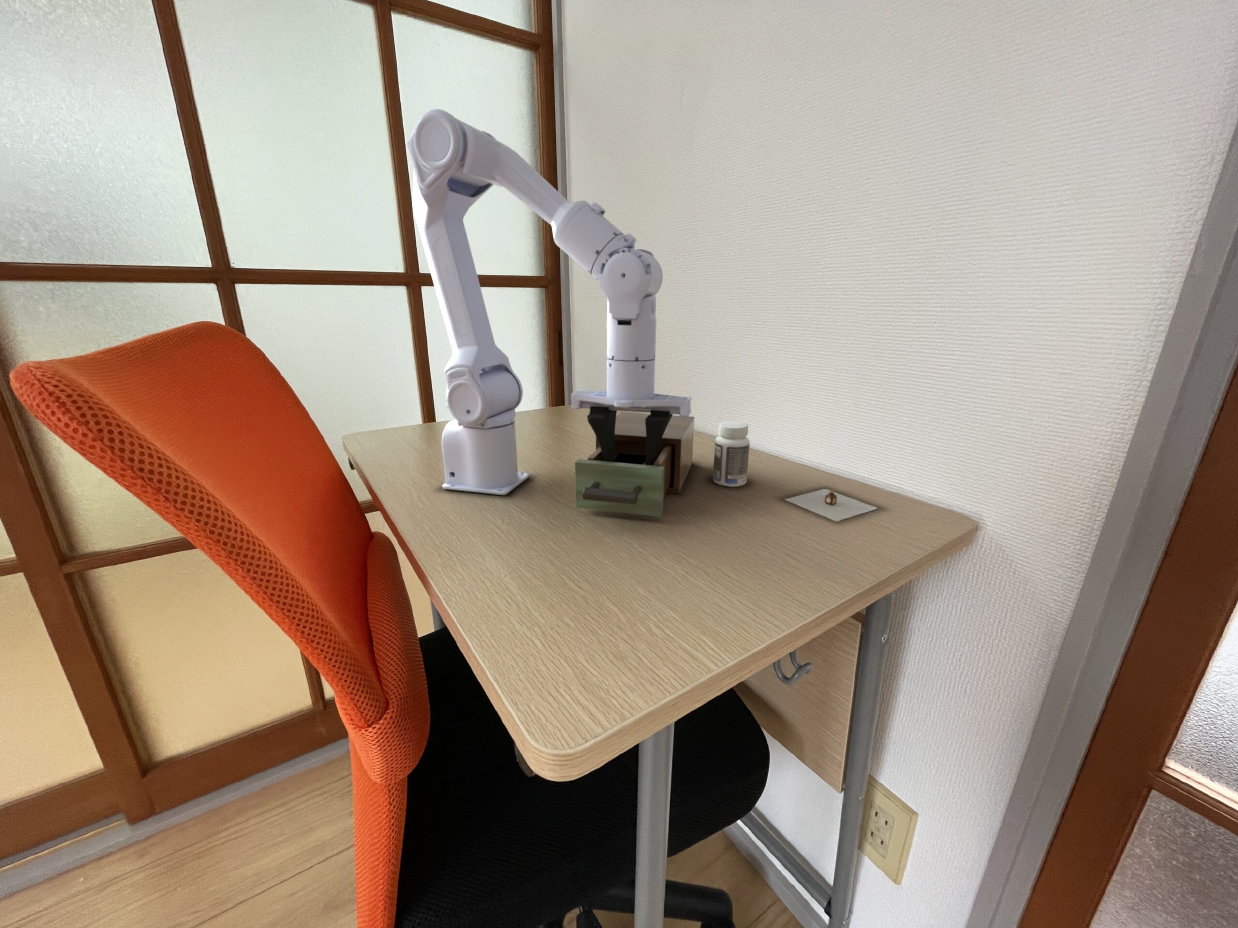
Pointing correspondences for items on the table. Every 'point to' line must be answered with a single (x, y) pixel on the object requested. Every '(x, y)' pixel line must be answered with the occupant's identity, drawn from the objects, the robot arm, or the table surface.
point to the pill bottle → (731, 454)
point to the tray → (629, 458)
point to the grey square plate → (831, 504)
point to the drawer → (624, 481)
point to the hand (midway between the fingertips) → (629, 467)
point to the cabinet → (675, 433)
